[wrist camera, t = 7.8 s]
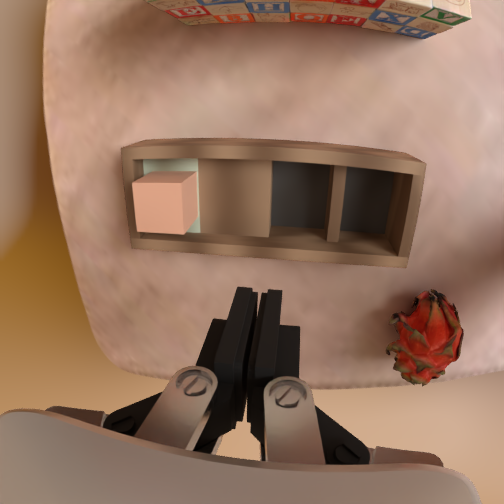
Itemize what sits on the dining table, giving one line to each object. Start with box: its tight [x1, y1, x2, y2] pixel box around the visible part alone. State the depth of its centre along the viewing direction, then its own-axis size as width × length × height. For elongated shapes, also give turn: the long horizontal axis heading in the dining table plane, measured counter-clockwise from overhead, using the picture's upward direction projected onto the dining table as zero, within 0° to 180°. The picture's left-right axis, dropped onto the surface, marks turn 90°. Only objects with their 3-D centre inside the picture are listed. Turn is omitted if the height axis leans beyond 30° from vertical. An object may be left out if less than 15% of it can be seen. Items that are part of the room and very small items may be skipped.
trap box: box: [121, 138, 426, 268], centre depth 27 cm, size 24×9×5 cm, turn 89°
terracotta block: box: [132, 171, 198, 235], centre depth 25 cm, size 4×4×4 cm
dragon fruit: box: [386, 289, 464, 386], centre depth 30 cm, size 8×8×12 cm
